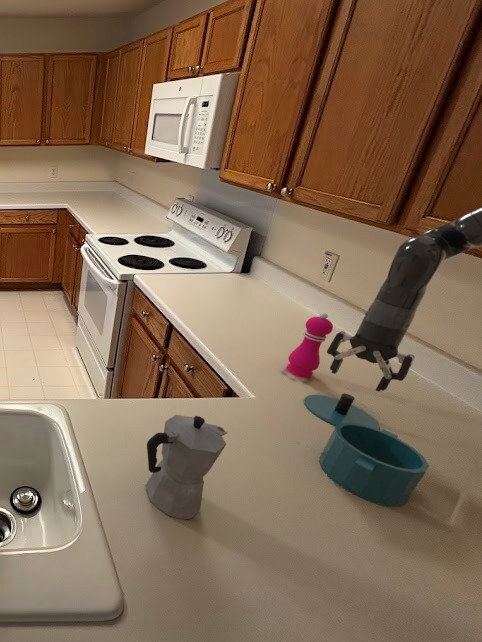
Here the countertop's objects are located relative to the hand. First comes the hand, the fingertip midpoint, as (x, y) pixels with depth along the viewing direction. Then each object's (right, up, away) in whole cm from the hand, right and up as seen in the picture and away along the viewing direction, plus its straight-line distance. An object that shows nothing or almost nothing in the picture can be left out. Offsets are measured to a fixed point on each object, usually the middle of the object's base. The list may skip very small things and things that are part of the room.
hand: (355, 381), depth 100 cm
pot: (-14, -17, -16) cm, 27 cm away
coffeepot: (-58, -17, -25) cm, 65 cm away
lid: (-1, -9, +4) cm, 10 cm away
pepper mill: (+4, -3, +23) cm, 23 cm away
